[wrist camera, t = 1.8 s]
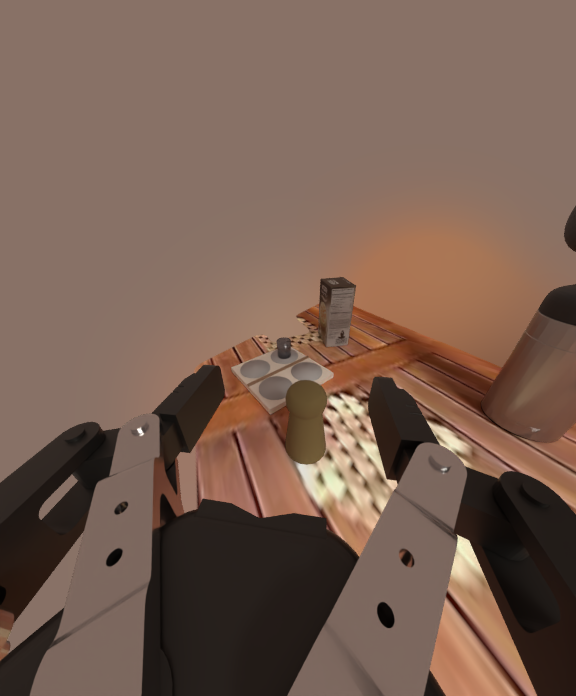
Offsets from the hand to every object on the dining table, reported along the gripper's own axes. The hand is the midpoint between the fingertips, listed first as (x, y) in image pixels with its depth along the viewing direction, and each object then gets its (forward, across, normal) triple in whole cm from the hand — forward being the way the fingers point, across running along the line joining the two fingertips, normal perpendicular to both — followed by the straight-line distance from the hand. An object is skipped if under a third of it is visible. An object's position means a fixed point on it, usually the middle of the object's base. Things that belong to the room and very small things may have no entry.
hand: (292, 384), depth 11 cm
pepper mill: (+12, 0, +21) cm, 24 cm away
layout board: (+28, +6, +20) cm, 35 cm away
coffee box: (+46, -6, +19) cm, 50 cm away
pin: (+34, +6, +18) cm, 39 cm away
